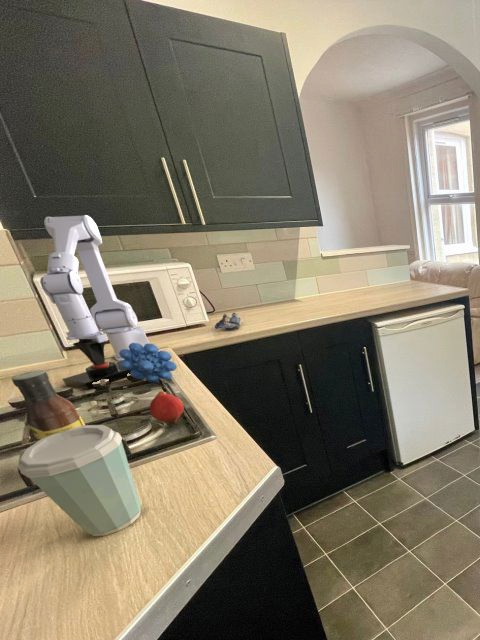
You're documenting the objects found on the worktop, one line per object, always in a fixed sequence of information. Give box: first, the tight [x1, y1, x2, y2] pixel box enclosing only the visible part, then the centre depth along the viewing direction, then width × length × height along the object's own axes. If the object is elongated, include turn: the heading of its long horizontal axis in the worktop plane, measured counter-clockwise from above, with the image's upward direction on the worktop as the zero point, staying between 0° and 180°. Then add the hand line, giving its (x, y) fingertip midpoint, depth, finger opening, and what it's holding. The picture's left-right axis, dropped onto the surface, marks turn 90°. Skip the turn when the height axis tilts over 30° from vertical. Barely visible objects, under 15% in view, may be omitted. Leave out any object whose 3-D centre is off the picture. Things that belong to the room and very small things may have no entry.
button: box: [91, 361, 109, 369], centre depth 121 cm, size 4×4×2 cm
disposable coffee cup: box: [17, 424, 142, 538], centre depth 62 cm, size 11×11×15 cm
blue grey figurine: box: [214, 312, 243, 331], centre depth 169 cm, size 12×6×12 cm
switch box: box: [62, 361, 131, 391], centre depth 122 cm, size 14×11×4 cm
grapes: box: [119, 343, 178, 384], centre depth 115 cm, size 12×7×12 cm, turn 117°
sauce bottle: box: [11, 369, 86, 442], centre depth 75 cm, size 7×6×20 cm
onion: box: [149, 390, 185, 424], centre depth 93 cm, size 6×6×8 cm
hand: (99, 363), depth 121 cm, fingers closed, pressing on button
